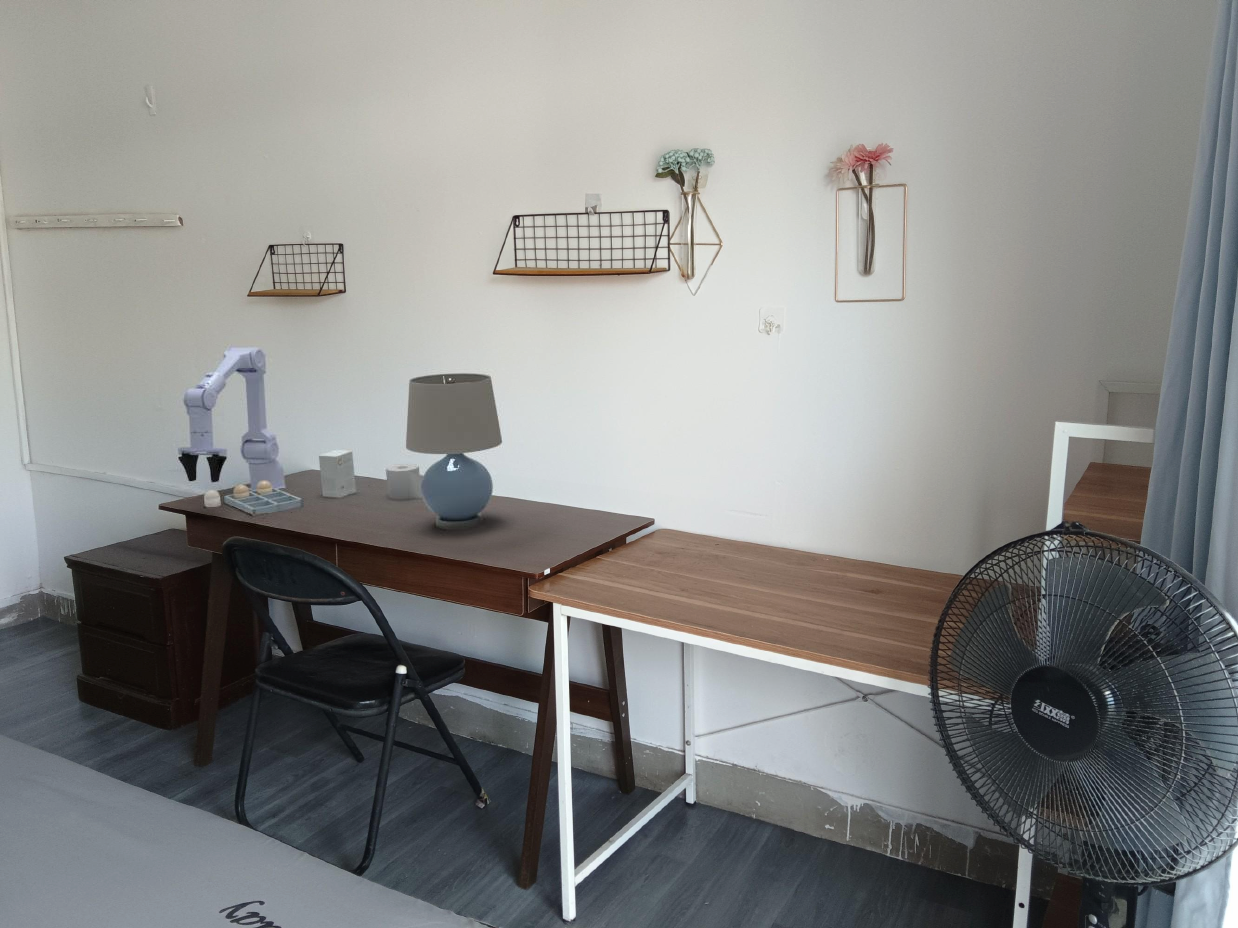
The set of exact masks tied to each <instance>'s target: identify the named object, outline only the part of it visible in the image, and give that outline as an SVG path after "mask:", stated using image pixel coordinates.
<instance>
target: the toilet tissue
mask: <svg viewBox="0 0 1238 928" xmlns="http://www.w3.org/2000/svg"><path fill="white" fill-rule="evenodd" d="M385 475H386V486H387V487H386V488H387V489H386V490H387V497H388V498H389V499H391V500H396V501H397V500H398V501H400V500H413V499H423V497H422V493H421V483H422V479H423V476H424V474H423V475H422V474H420V466H419V465H417V464H412V463H402V464H401V463H400V464H394V465H389V466H388V467H386V468H385Z"/></svg>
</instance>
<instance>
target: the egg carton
mask: <svg viewBox="0 0 1238 928" xmlns="http://www.w3.org/2000/svg"><path fill="white" fill-rule="evenodd" d="M249 495H250V497H246V498H241V499H236V500H235V499H234V493H232V494H228V495H223V503H224V504H226V505H229V506H230V507H232V506H234V507H236V508H238V509H241V510H243V511H245V512H248V513H251V514H260V513H269V514H274V513H278V512H282V511H288V510H292V509H297V508H302V507H304V506H305V505H304V500H303V498H300V497H298V496H295V495H293V494H290V493H288V492H285V491H283V490H281V489H276V488H274V487H272V493H267V494H262V495H257V490H253V491H251V490H249ZM234 507H233V508H234ZM236 508H235V509H236ZM238 509H237V510H238ZM243 511H242V512H243ZM245 512H244V513H245ZM273 512H274V513H273Z"/></svg>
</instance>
